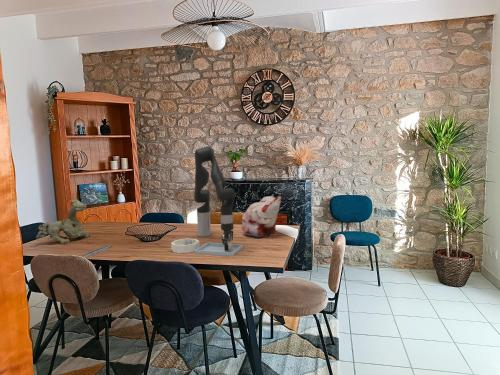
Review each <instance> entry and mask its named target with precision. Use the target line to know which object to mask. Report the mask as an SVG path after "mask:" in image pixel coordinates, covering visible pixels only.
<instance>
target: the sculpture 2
mask: <svg viewBox="0 0 500 375" xmlns="http://www.w3.org/2000/svg"><path fill="white" fill-rule="evenodd" d="M281 203H282V196H281V195H278V196H277V197H275V196H272V195H271V196H270V195H269V196H264V197H263V198H261V200H260V201H259V202H254V203H252V204H251V205H249V207H248V208H247V209H246V210H245V212H244V213H243V215H242V217H241V231H243V232H244V235H245V236H249V237H255V238H265V237H269V236H271V235H273V234H275V233H276V232H277V229H276V228H277V223H276V222H277V220H278V213H279V211H280V206H281Z"/></svg>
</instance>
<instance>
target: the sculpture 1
mask: <svg viewBox="0 0 500 375" xmlns="http://www.w3.org/2000/svg"><path fill="white" fill-rule="evenodd" d="M70 203H71V207H70V208H69V209H68V212H67V218H66V219H65V218H64V219H62V220H57V221H53V222H44V223H42V224H40V225H39V226H38V230H39V231H38V232H37V235H36V236H35V238H36V239H40V238H45V237H46V236H47V235H49V237H48V241H49V242H55V241H58V242H59V243H60V244H61V245H62V244H69V243H70V242H71V240H70V239H80V238H81V239H82V238H84V239H85V238H89V237H91V234H90V233H87V232H86V231H84V225H83V223H82V221H81V220H79V219H78V217H77V212H83V211H85V209H86V208H87V205H86V204H85V203H83V202H81V201H80V200H78V198H74V199H71V200H70ZM61 231H62V232H63V233H64V234H65V235H66V236H63V235H60V232H61ZM69 238H70V239H69Z"/></svg>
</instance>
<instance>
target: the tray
mask: <svg viewBox="0 0 500 375" xmlns="http://www.w3.org/2000/svg"><path fill="white" fill-rule="evenodd" d="M231 244H232V250H230V251H225V250H224V244H223V243H222V242H219V243H218V242H206V243H204V244H202V245H201V246H200V248H198V249H196V250H195V251H194V254H196V255H207V256H208V255H210V256H223V257H234V256H236V255H237V253H239V252H240V251H241V250H242V249H244V244H237V243H236V244H235V243H231Z"/></svg>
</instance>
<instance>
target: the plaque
mask: <svg viewBox="0 0 500 375" xmlns="http://www.w3.org/2000/svg"><path fill="white" fill-rule="evenodd" d="M113 247H114V245H104V246H103V247H99V248H97V249H94V250H92V251H90V252H87V253H85V254H82V255H81V256H82V257H85V259H86V258H89V257H92V256H94V255H96V254H98V253H101V252H104V251H107V250H108V249H111V248H113Z"/></svg>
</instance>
